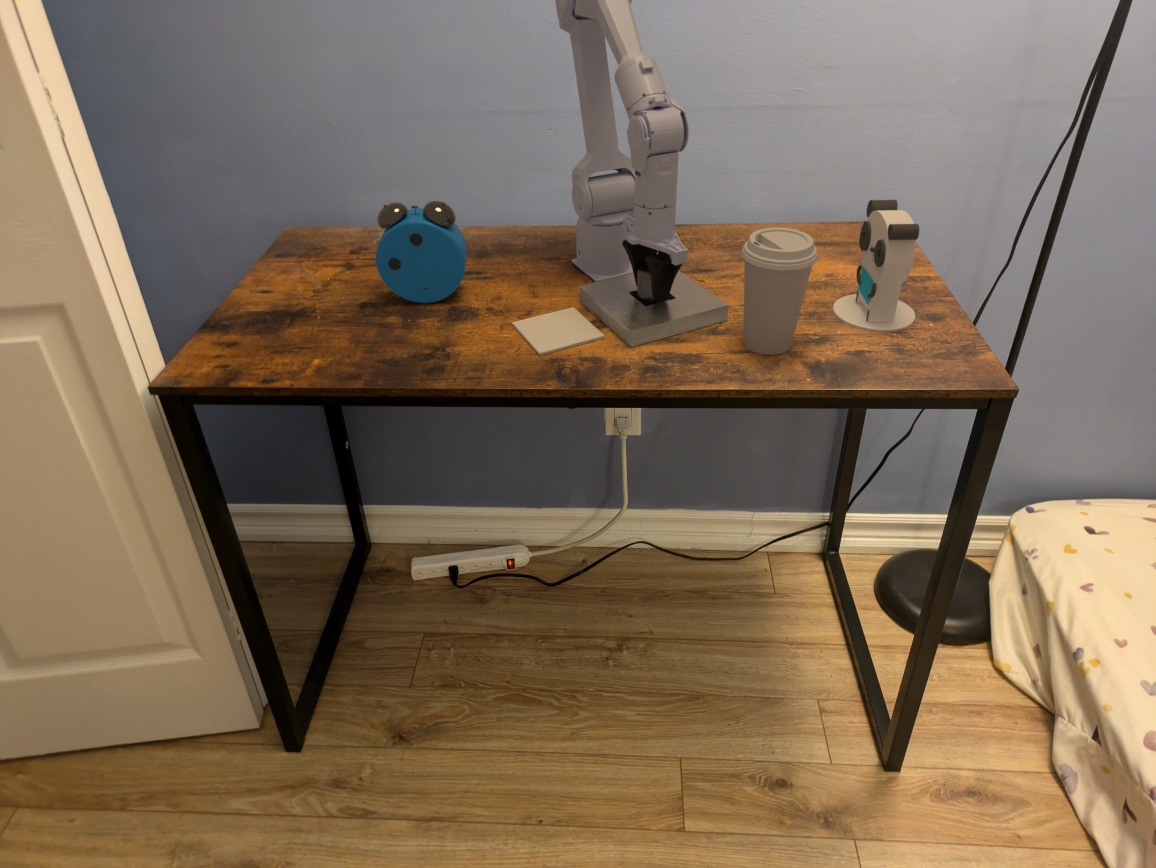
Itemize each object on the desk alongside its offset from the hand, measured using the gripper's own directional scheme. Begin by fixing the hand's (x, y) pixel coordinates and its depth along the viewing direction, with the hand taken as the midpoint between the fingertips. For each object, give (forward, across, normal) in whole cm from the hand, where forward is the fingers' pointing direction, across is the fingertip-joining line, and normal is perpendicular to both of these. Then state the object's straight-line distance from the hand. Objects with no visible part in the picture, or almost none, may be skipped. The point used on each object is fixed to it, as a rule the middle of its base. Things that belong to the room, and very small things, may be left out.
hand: (652, 292), depth 112 cm
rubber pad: (+3, -1, -15) cm, 15 cm away
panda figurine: (+3, +16, +28) cm, 32 cm away
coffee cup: (+3, +16, +9) cm, 19 cm away
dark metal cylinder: (+3, 0, 0) cm, 3 cm away
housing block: (+3, 0, 0) cm, 3 cm away
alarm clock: (+3, -21, -28) cm, 35 cm away
